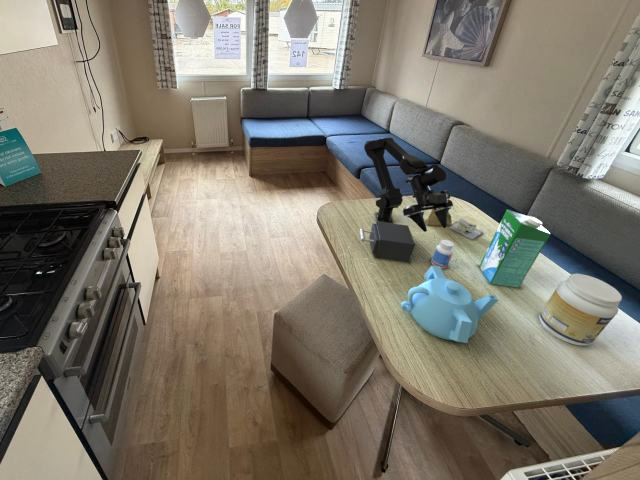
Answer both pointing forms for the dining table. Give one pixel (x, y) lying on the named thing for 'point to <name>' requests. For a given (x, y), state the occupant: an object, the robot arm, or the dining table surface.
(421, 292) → the teapot
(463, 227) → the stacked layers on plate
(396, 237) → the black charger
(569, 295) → the supplement tub
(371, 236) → the drawer
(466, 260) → the dining table surface
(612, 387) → the dining table surface
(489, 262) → the milk carton
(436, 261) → the pill bottle
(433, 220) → the rock
